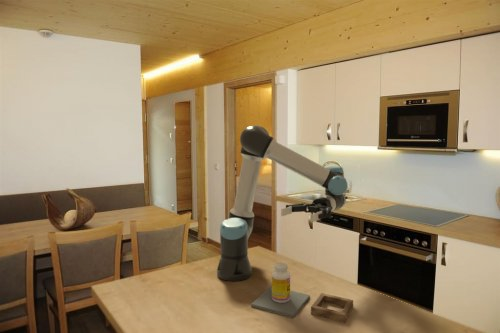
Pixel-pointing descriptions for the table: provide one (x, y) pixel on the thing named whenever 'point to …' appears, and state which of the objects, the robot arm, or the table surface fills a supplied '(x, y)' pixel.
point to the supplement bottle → (280, 283)
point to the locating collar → (329, 313)
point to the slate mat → (281, 308)
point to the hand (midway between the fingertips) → (296, 215)
